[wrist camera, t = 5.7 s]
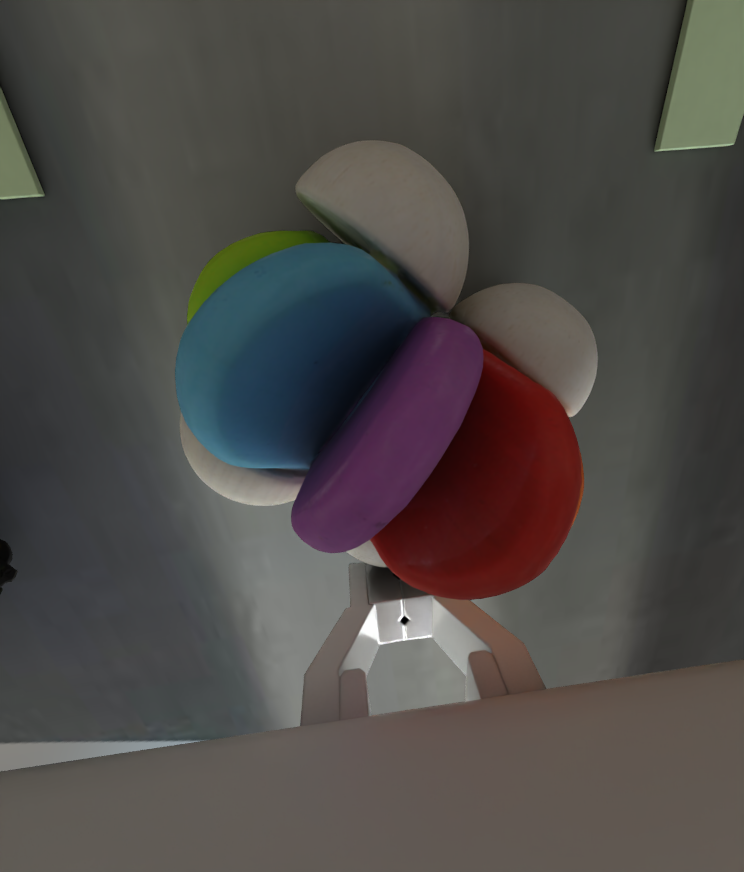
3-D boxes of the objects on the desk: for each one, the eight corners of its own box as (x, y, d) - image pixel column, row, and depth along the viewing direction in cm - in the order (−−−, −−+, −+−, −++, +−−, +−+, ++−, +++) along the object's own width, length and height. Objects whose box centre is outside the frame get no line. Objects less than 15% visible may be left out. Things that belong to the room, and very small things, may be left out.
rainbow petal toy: (409, 529, 14) (473, 764, 7) (163, 395, 11) (-98, 602, 4) (576, 353, 11) (898, 477, 5) (318, 107, 8) (253, -490, 2)
